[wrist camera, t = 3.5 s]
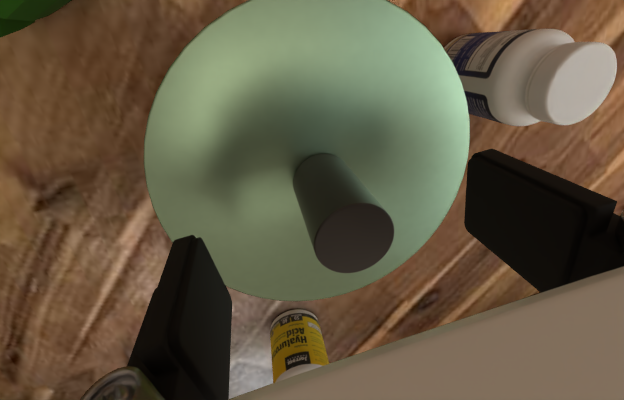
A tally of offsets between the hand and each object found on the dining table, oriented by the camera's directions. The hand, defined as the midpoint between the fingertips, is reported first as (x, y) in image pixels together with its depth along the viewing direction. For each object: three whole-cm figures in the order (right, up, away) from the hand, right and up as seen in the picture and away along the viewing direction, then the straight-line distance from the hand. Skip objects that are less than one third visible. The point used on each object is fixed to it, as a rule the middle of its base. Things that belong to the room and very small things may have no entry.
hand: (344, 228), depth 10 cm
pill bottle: (+11, +11, +14) cm, 21 cm away
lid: (-1, +2, +5) cm, 5 cm away
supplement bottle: (-3, -13, +23) cm, 26 cm away
